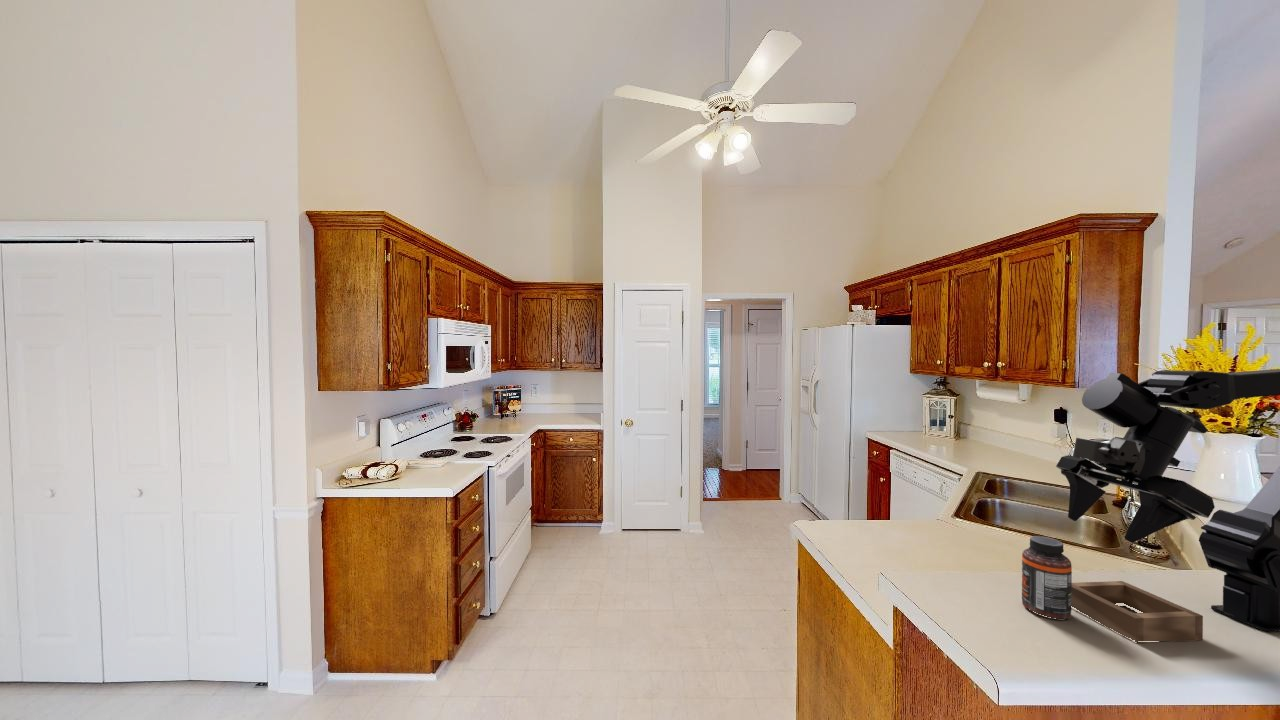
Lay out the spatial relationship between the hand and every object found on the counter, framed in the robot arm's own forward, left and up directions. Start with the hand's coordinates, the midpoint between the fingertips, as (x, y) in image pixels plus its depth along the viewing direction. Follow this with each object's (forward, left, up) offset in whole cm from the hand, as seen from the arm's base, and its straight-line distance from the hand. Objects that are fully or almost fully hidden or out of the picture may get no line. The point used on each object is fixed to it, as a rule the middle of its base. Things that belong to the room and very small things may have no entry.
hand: (1098, 529), depth 73 cm
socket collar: (-3, +1, -13) cm, 14 cm away
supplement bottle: (+7, -2, -14) cm, 15 cm away
